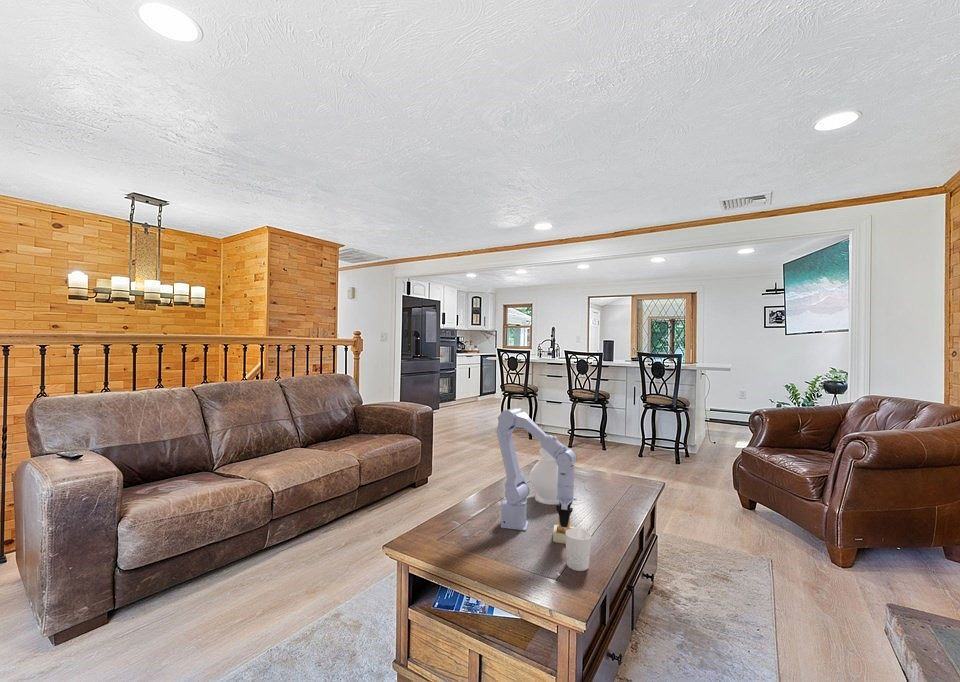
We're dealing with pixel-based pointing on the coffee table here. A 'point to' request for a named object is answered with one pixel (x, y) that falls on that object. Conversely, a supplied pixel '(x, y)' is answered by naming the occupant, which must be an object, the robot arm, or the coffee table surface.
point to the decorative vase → (545, 479)
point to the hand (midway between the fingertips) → (564, 522)
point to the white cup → (578, 549)
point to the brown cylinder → (563, 529)
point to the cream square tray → (559, 535)
